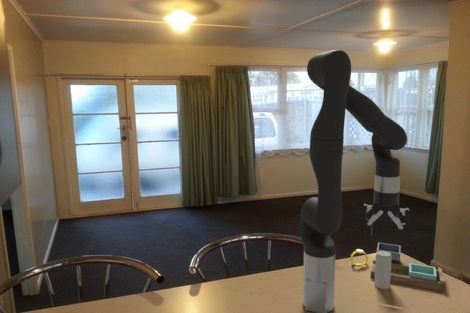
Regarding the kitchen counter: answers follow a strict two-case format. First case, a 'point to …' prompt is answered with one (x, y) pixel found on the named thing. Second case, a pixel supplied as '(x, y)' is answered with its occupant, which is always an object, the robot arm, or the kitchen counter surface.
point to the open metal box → (391, 251)
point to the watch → (360, 253)
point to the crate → (422, 272)
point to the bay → (412, 280)
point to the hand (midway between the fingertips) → (384, 237)
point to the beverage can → (383, 269)
